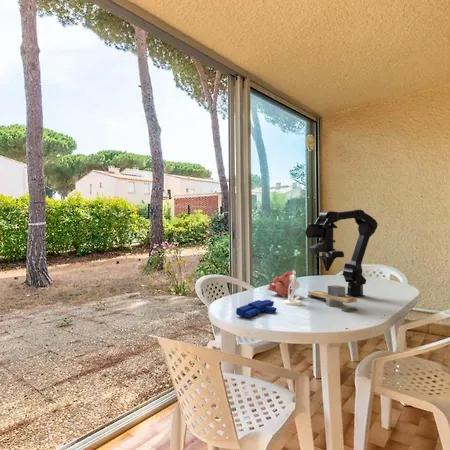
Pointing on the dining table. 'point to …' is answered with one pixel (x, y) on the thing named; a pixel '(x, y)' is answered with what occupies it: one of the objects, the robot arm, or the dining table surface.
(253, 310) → the toy gun
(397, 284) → the dining table surface
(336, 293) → the block
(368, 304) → the dining table surface
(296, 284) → the figurine
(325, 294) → the beam
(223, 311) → the dining table surface
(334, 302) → the stand
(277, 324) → the dining table surface
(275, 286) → the anatomical model
